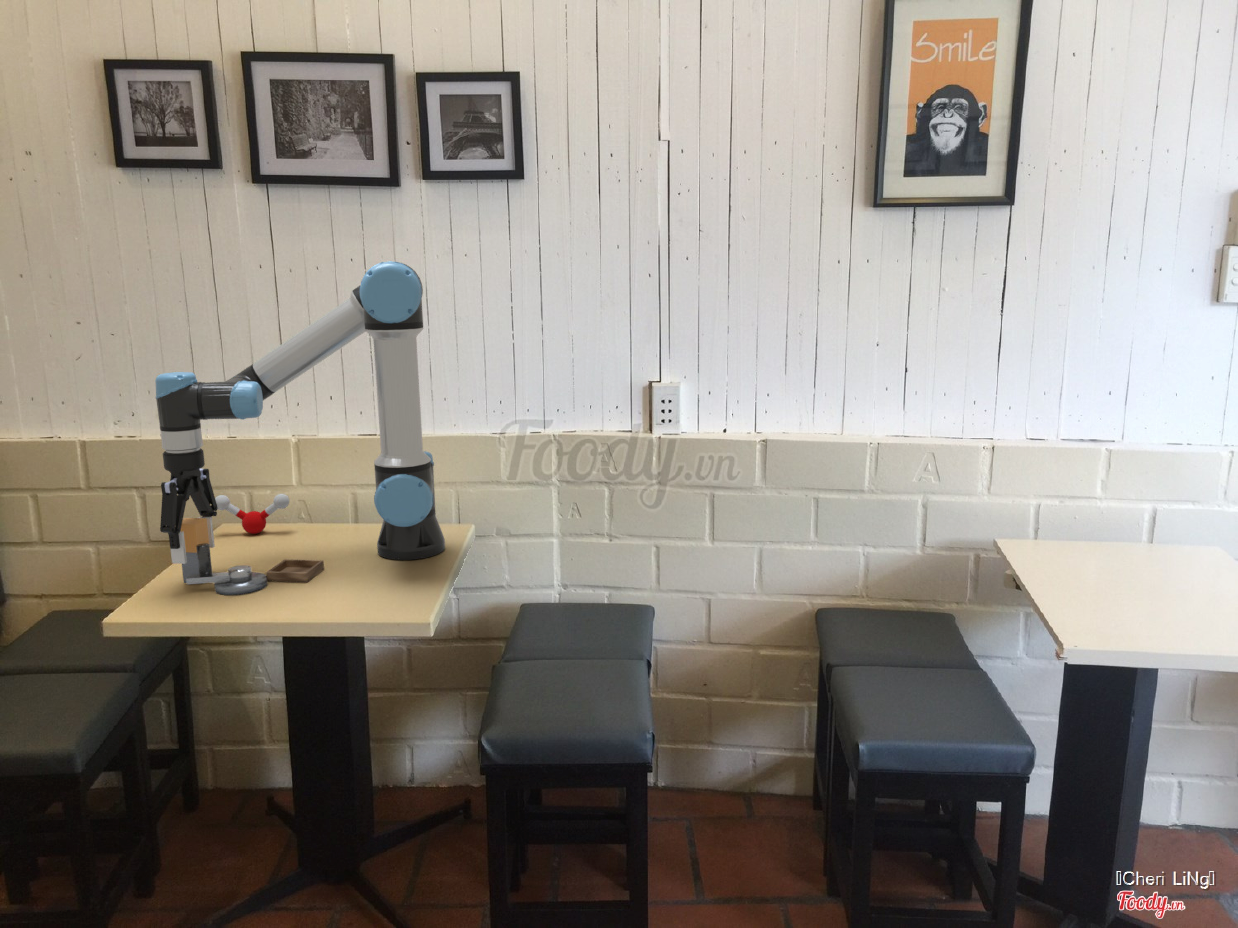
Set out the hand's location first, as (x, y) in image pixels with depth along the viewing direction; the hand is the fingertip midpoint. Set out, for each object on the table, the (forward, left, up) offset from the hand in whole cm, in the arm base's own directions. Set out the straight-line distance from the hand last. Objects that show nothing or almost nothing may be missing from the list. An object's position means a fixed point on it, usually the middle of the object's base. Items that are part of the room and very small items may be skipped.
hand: (194, 554), depth 194 cm
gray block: (0, 0, -6) cm, 6 cm away
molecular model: (+5, -35, -6) cm, 35 cm away
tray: (-19, -6, -6) cm, 21 cm away
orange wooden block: (0, 0, +1) cm, 1 cm away
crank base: (-11, +2, -6) cm, 13 cm away
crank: (-7, +4, -4) cm, 9 cm away
